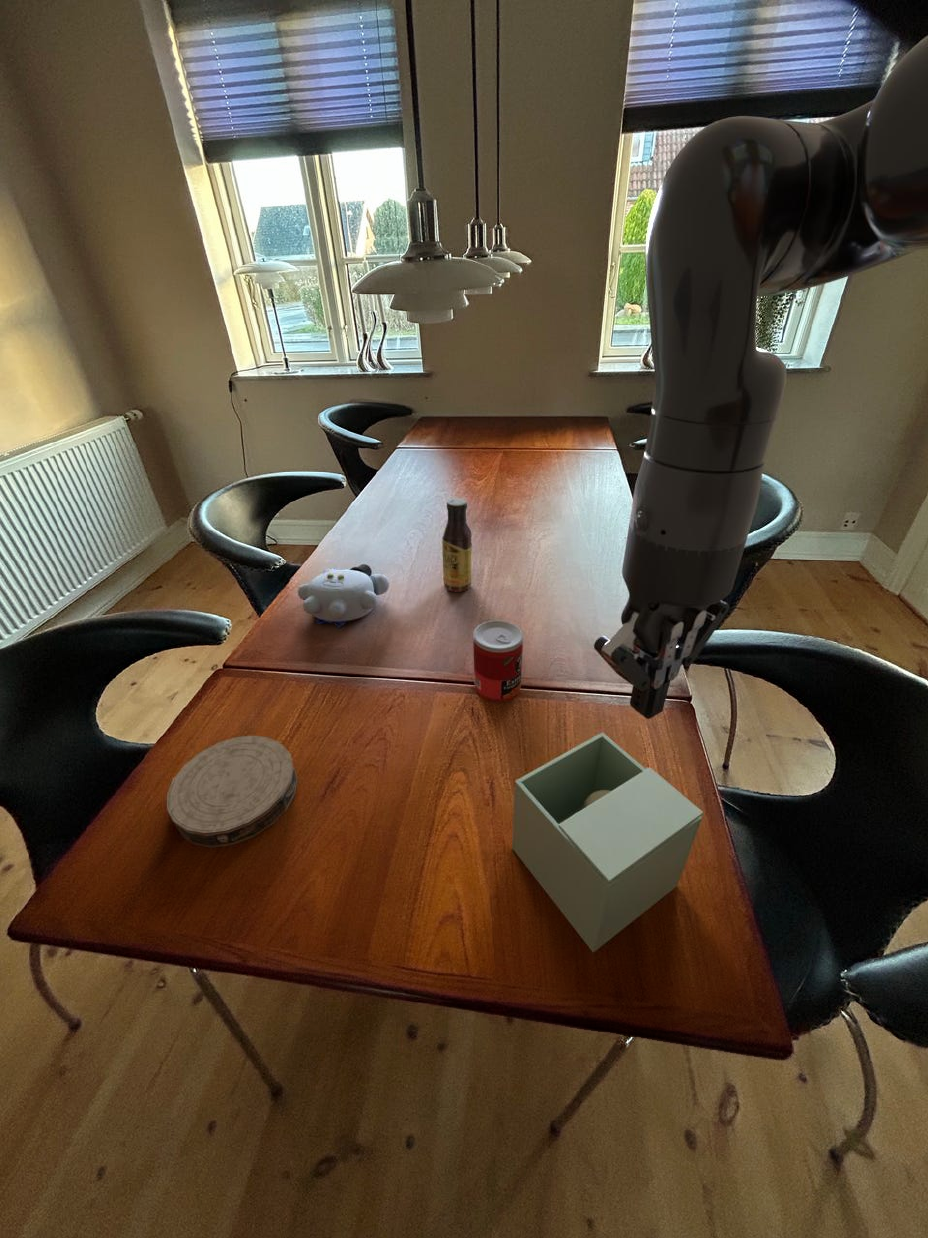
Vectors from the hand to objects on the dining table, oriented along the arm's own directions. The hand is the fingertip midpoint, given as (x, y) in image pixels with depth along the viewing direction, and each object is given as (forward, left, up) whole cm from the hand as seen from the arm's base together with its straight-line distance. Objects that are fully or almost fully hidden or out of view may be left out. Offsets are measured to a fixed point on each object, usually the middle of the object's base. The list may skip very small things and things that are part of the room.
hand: (646, 709), depth 45 cm
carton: (+2, 0, -27) cm, 27 cm away
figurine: (+73, +2, -27) cm, 78 cm away
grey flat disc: (+36, +33, -27) cm, 56 cm away
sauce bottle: (+66, -21, -27) cm, 75 cm away
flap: (-1, 0, -14) cm, 14 cm away
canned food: (+34, -9, -27) cm, 45 cm away
